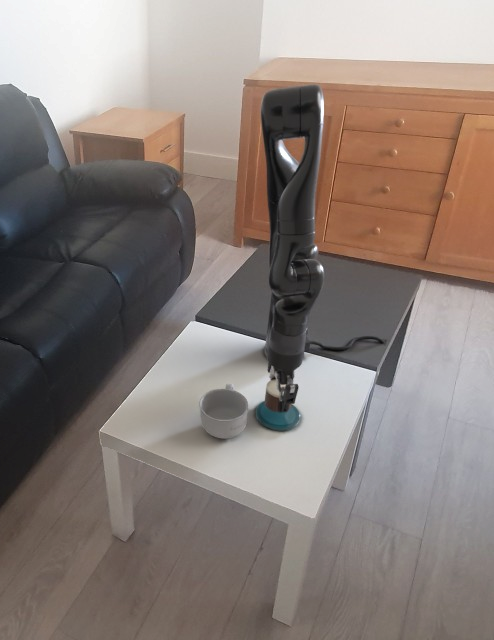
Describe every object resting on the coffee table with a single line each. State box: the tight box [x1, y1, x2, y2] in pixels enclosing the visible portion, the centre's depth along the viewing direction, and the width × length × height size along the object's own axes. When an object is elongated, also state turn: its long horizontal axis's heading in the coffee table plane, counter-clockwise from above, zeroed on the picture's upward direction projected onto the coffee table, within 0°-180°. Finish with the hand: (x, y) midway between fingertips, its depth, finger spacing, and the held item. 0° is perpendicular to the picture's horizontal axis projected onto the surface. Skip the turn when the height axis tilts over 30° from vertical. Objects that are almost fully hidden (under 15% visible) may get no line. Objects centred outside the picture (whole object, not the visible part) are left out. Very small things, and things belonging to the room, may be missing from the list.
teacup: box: [198, 382, 249, 439], centre depth 136 cm, size 14×11×8 cm
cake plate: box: [255, 400, 301, 432], centre depth 140 cm, size 10×10×1 cm
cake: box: [264, 379, 291, 412], centre depth 136 cm, size 6×6×5 cm
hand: (278, 401), depth 137 cm, fingers closed on cake, 6 cm apart
